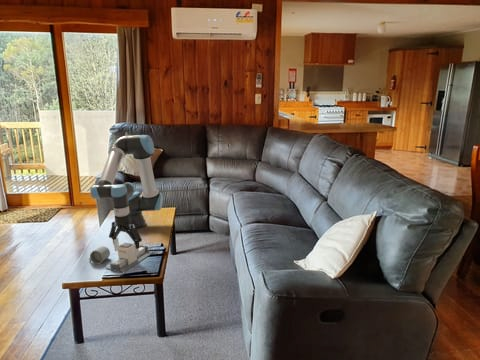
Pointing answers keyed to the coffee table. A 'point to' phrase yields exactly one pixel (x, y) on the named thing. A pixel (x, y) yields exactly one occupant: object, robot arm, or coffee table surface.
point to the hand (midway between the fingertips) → (127, 251)
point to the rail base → (123, 263)
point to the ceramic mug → (99, 255)
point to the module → (127, 252)
